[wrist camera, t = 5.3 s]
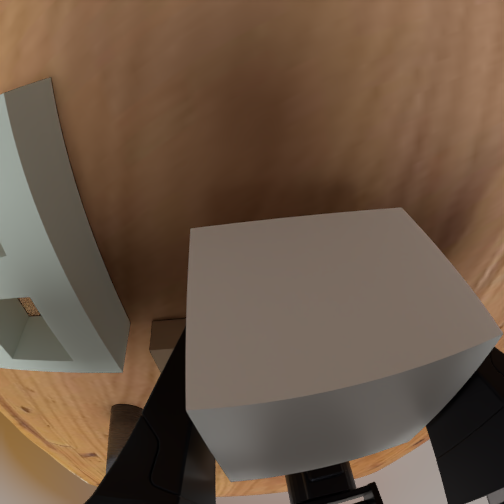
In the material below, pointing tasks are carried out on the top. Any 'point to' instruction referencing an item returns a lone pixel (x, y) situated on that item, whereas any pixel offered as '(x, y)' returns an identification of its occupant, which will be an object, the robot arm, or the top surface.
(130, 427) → the peg
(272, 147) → the top surface
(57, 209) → the board
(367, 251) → the white rectangular block
